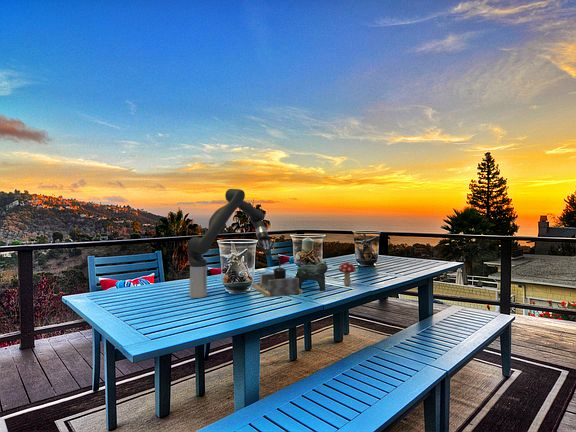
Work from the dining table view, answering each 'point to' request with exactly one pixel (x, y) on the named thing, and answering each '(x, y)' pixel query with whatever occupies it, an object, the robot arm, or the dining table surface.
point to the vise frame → (279, 287)
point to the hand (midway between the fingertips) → (268, 254)
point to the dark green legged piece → (312, 273)
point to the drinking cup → (279, 272)
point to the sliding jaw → (266, 279)
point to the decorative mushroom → (347, 272)
